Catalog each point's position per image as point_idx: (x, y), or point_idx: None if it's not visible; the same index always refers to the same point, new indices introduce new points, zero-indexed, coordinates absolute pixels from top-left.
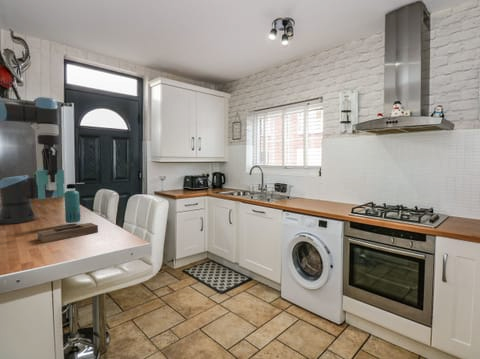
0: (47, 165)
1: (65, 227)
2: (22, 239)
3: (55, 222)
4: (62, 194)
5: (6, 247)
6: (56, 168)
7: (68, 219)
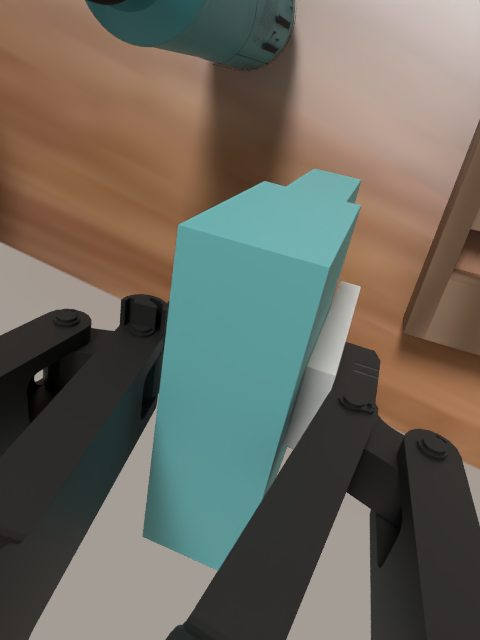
0: (104, 484)
1: (472, 209)
2: None
3: (105, 61)
4: (353, 199)
5: (408, 430)
6: (472, 525)
7: (263, 62)
